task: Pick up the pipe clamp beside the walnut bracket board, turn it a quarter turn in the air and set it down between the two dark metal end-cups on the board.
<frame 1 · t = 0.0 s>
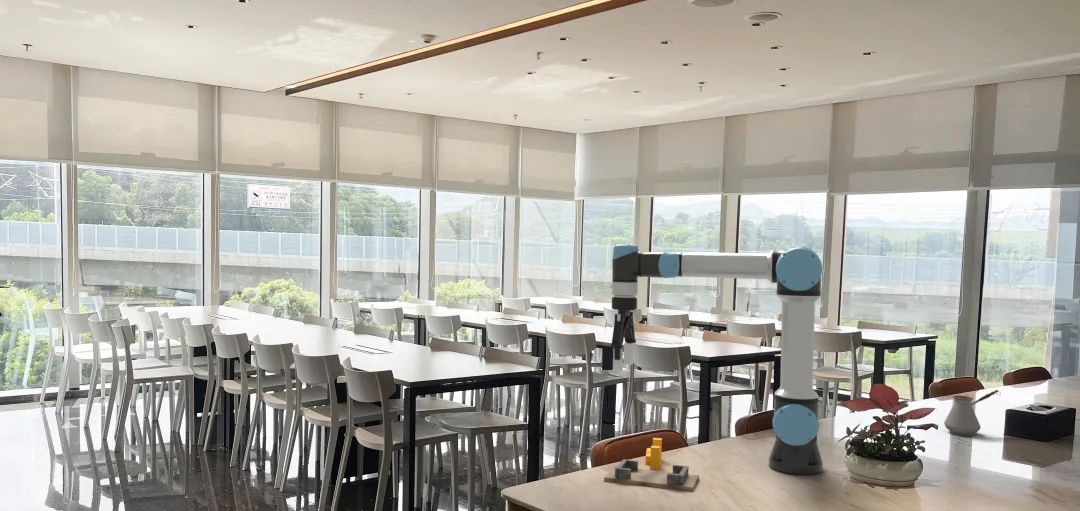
hand: (623, 367, 236), 28 cm above the table, fingers open, 13 cm apart
coffee pot: (973, 433, 283), on the table
pipe clamp: (653, 465, 234), on the table
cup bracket: (651, 479, 218), on the table
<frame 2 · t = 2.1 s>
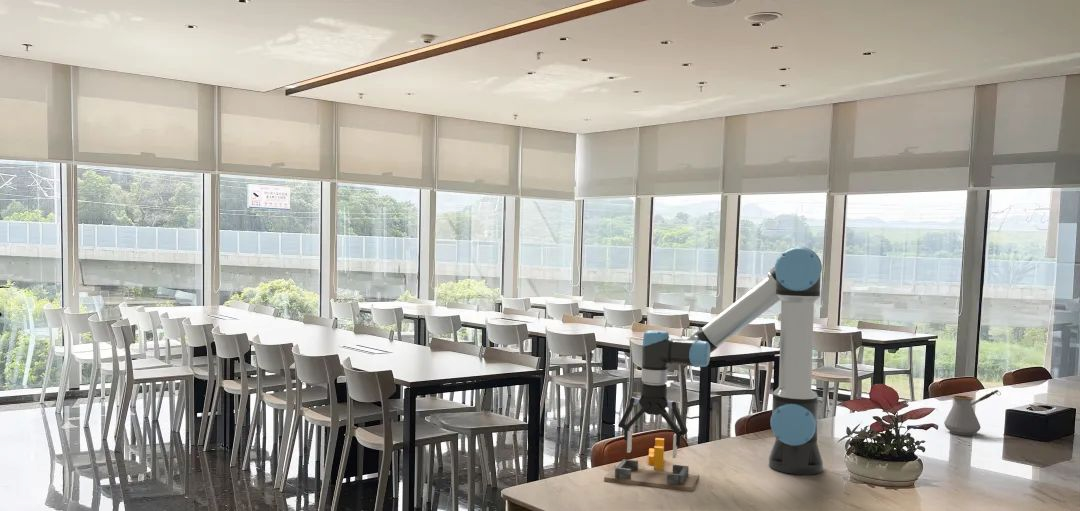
hand: (651, 454, 235), 3 cm above the table, fingers open, 13 cm apart
nothing on the table moved.
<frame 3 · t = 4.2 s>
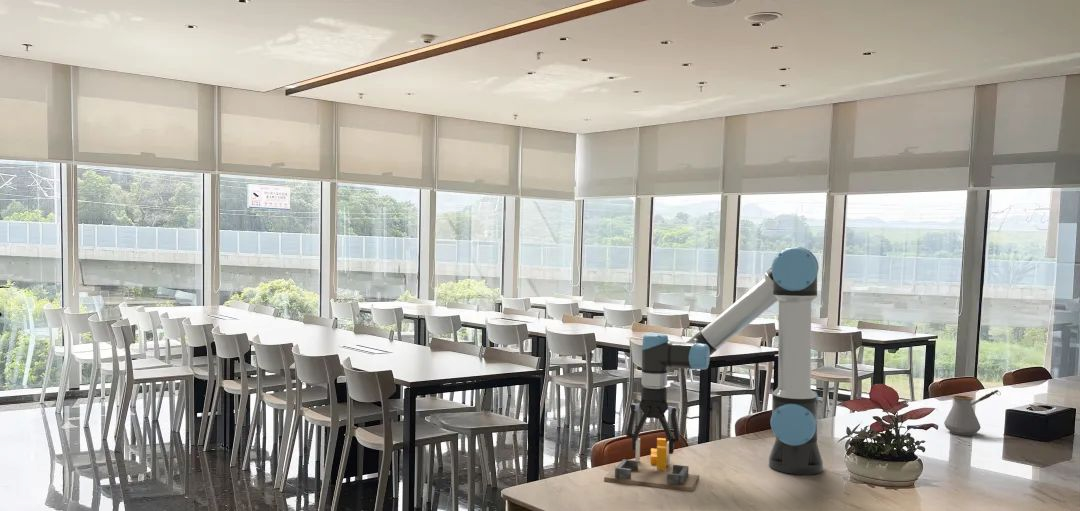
hand: (652, 462, 235), 0 cm above the table, fingers open, 8 cm apart
pipe clamp: (658, 465, 234), on the table, touching gripper
everything else where it was.
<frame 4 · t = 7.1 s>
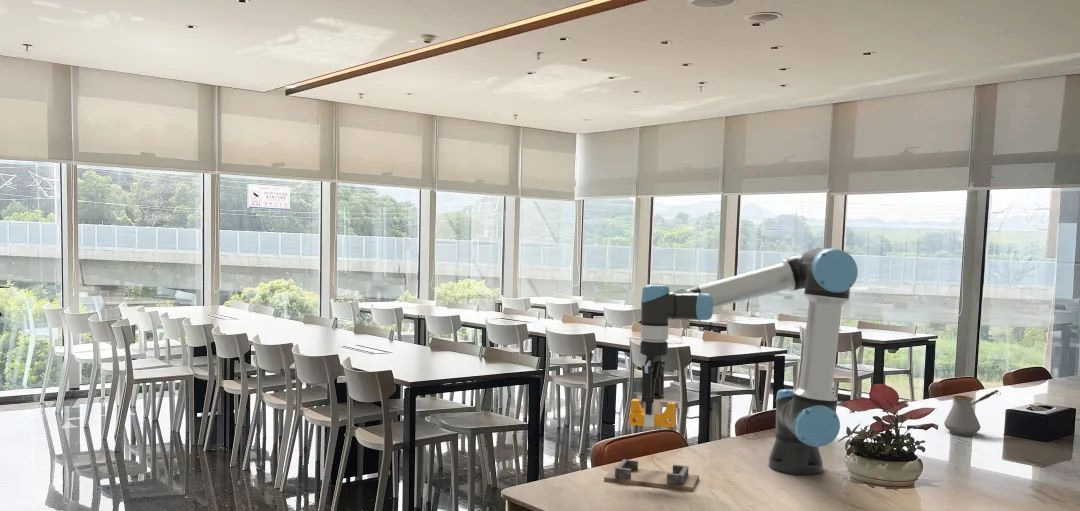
hand: (652, 423, 220), 15 cm above the table, fingers closed on pipe clamp, 5 cm apart
pipe clamp: (652, 425, 220), point 14 cm above the table, touching gripper
everything else where it was.
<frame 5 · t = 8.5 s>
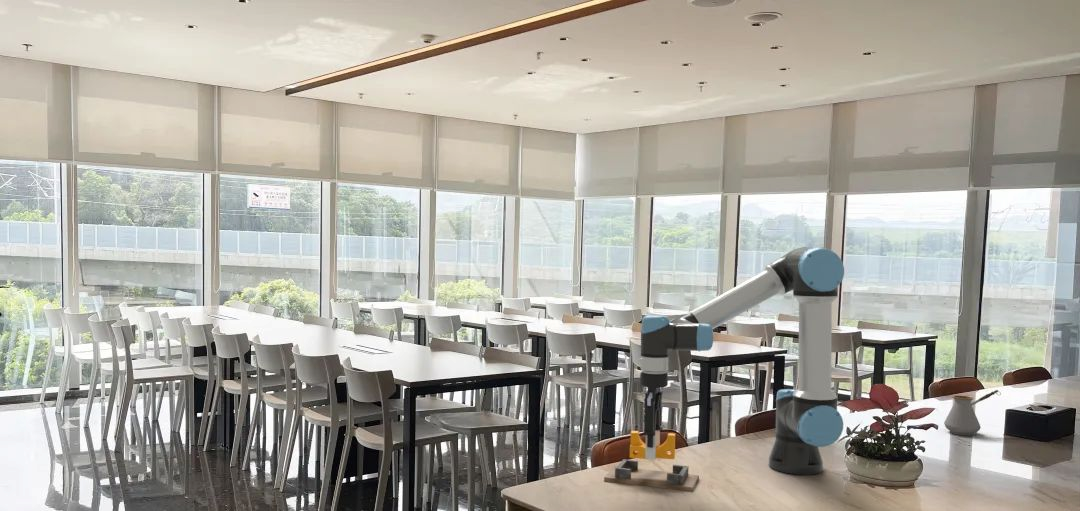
hand: (652, 456, 218), 7 cm above the table, fingers closed on pipe clamp, 5 cm apart
pipe clamp: (652, 458, 218), point 6 cm above the table, touching gripper
everything else where it was.
when the fingers open (2 cm above the table, at t = 9.7 s): pipe clamp stays where it is, resting on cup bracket.
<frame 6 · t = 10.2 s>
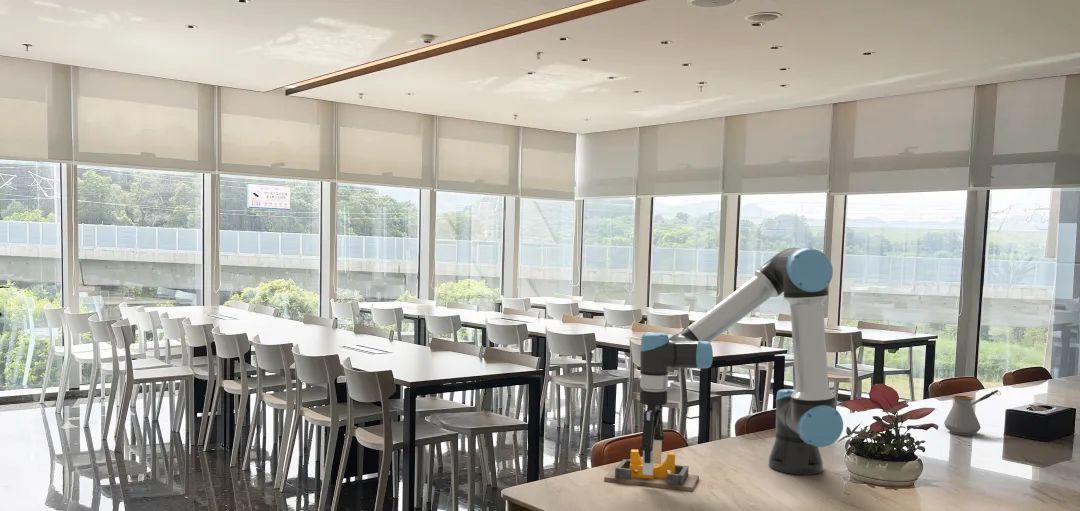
hand: (652, 468, 218), 3 cm above the table, fingers open, 11 cm apart
pipe clamp: (652, 477, 218), point 1 cm above the table, touching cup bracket
everything else where it was.
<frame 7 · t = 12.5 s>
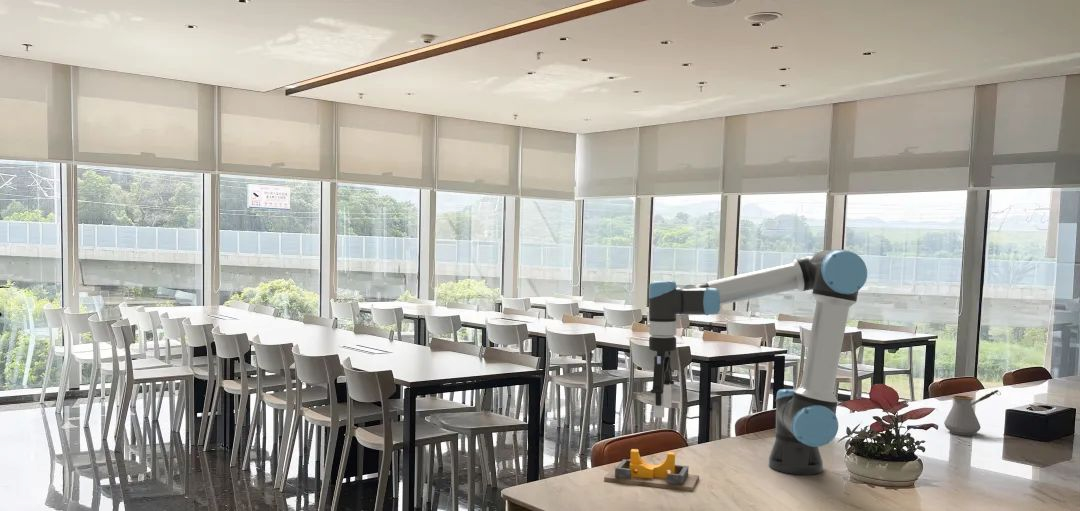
hand: (662, 412, 221), 18 cm above the table, fingers open, 13 cm apart
nothing on the table moved.
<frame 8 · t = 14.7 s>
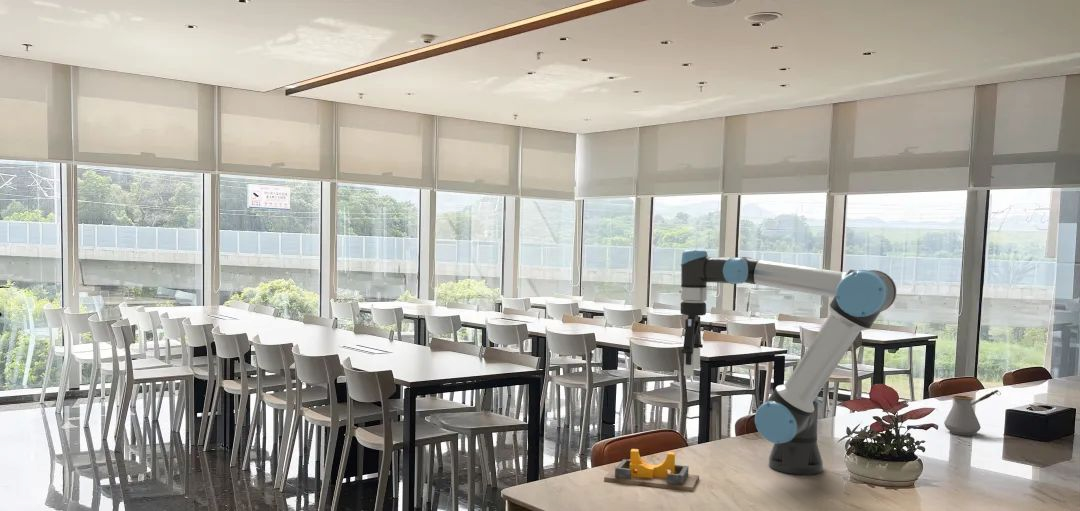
hand: (691, 372, 238), 27 cm above the table, fingers open, 13 cm apart
nothing on the table moved.
at the end: pipe clamp 0.5 cm off-centre on the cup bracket, point 0.8 cm above the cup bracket's base; pipe clamp tilted 0°; the gripper is holding nothing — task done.
